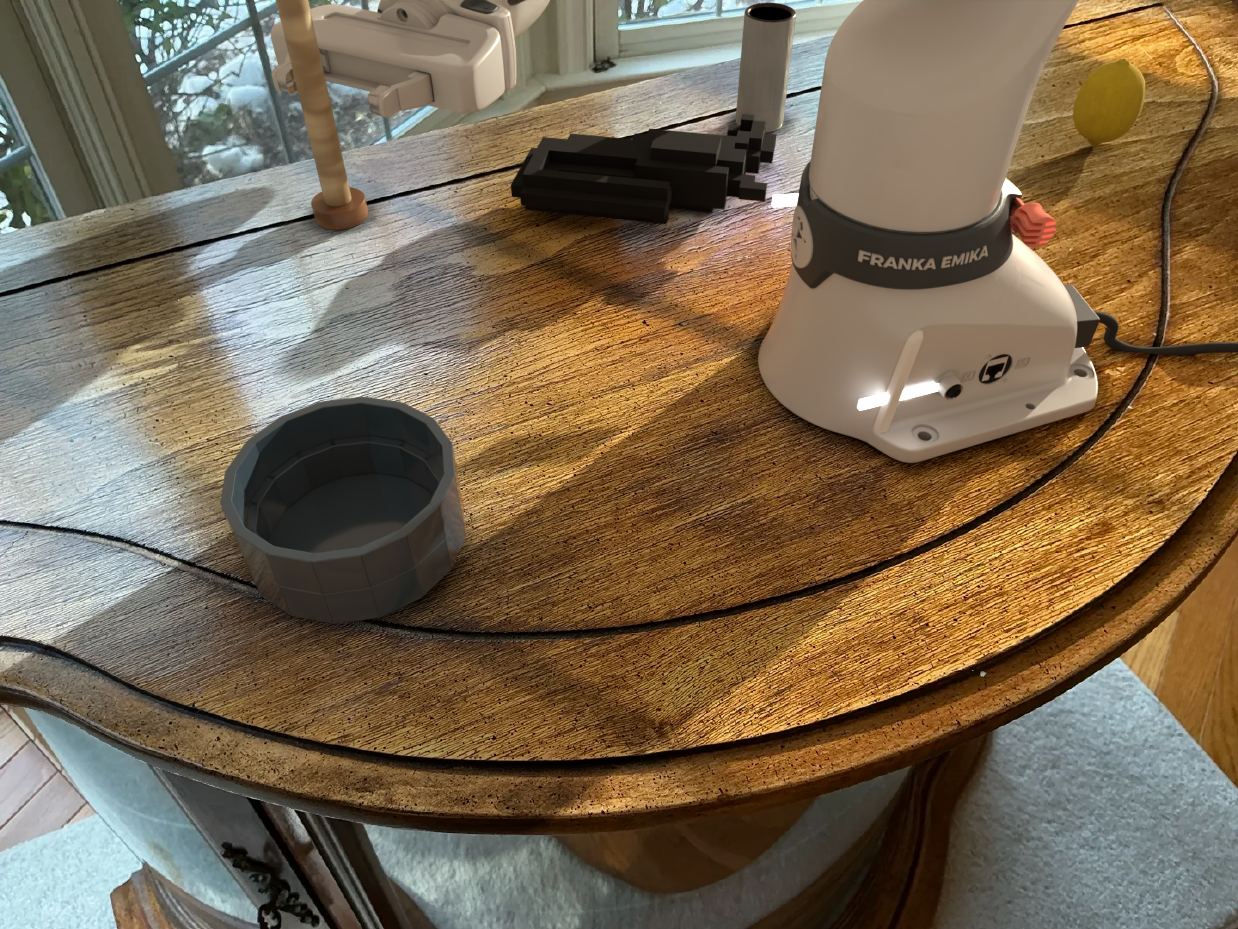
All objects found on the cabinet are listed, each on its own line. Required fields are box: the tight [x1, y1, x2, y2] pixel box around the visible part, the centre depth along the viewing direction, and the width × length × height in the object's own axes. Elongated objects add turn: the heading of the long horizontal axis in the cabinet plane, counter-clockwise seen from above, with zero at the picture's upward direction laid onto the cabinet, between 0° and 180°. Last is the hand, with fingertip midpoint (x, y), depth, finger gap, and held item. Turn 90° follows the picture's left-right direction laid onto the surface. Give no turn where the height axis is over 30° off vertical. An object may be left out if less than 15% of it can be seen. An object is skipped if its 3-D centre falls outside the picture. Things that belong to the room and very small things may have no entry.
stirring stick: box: [275, 0, 369, 231], centre depth 76 cm, size 4×4×18 cm
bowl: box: [220, 396, 467, 625], centre depth 55 cm, size 12×12×6 cm
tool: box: [510, 114, 778, 226], centre depth 83 cm, size 5×20×15 cm
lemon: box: [1072, 57, 1146, 147], centre depth 88 cm, size 6×6×8 cm
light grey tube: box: [735, 1, 797, 133], centre depth 91 cm, size 4×4×10 cm
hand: (327, 94), depth 76 cm, fingers open, 8 cm apart
